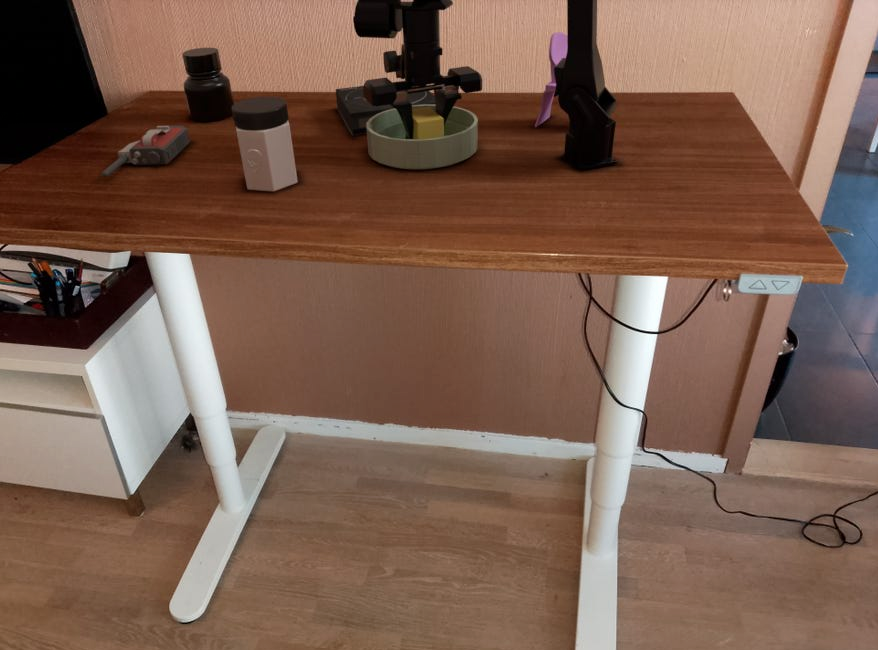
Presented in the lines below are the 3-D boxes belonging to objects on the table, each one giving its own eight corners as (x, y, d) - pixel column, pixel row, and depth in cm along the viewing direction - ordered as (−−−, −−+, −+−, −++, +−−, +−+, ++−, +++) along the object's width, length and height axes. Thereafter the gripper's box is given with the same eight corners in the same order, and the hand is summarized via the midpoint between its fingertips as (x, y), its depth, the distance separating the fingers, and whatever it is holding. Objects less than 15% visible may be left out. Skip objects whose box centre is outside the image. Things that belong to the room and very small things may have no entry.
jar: (234, 189, 112) (218, 111, 105) (257, 170, 118) (244, 95, 111) (286, 193, 109) (274, 114, 102) (307, 173, 115) (297, 97, 108)
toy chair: (580, 135, 123) (588, 41, 114) (531, 128, 127) (536, 38, 118) (596, 120, 128) (606, 30, 120) (550, 115, 132) (555, 27, 124)
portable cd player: (353, 137, 128) (351, 114, 126) (337, 110, 142) (335, 89, 140) (442, 125, 131) (441, 103, 129) (418, 99, 145) (417, 79, 142)
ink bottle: (216, 105, 149) (204, 44, 142) (246, 111, 145) (235, 48, 138) (179, 119, 143) (164, 55, 136) (209, 125, 138) (196, 60, 131)
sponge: (430, 135, 125) (429, 106, 122) (444, 148, 120) (443, 118, 117) (405, 139, 124) (404, 110, 121) (418, 152, 119) (417, 122, 116)
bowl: (453, 127, 130) (453, 98, 127) (494, 160, 116) (495, 129, 113) (356, 142, 126) (353, 114, 123) (387, 179, 112) (384, 147, 109)
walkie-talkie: (149, 140, 133) (100, 183, 117) (143, 116, 130) (91, 156, 114) (194, 140, 132) (151, 182, 116) (189, 116, 129) (143, 156, 113)
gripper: (457, 23, 121) (458, 116, 130) (350, 36, 117) (358, 132, 126) (484, 36, 112) (482, 135, 121) (369, 51, 108) (376, 152, 117)
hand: (424, 138), depth 121 cm, fingers closed on sponge, 4 cm apart
